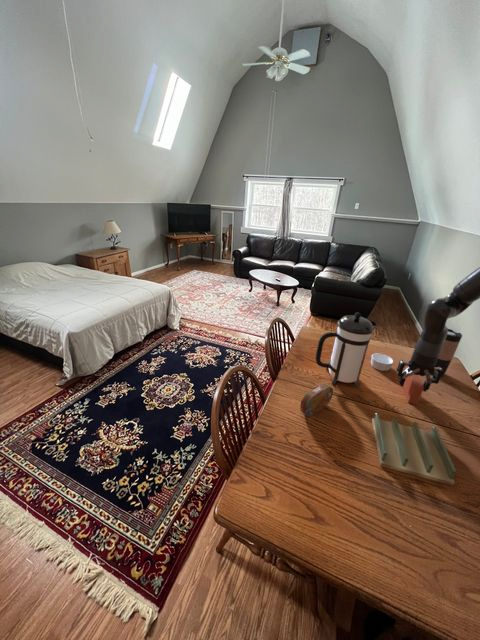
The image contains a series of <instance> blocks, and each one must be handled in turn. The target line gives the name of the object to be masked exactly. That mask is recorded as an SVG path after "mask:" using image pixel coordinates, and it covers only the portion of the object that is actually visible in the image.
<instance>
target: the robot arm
mask: <svg viewBox="0 0 480 640" xmlns="http://www.w3.org/2000/svg"><path fill="white" fill-rule="evenodd" d="M478 300H480V266H479V267H478V268H476V269H475V270H474V271H472V272H471V273H470V274H468V275H467V276H465V277H464V278H463V279H461V280H460V281H459V282H457V284H455V285H454V287H453V288H452V292H450V293H449V294H447V295H446V296H444V297H440V298H435V299H433V300H430V302H429V303H428V304H427V306H426V309H425V311H424V320H423V328H422V330H421V332H420V335H419V338H418V340H417V341H416V344H415V345H414V349H413V352H412V354H411V357H410V360H409V361H404V360H403V359H400V360H399V361H398V365H397V368H396V371H395V372H396V374H397V376H398V377H399V379H398V385H400V387H402V388H403V385H404V383H405V380H406V378H407V377H409V376H412V375H413V374H414V375H418V376H419V377H425V380H424V382H423V383H422V384H423V386H424V389H423V391H422V392H427V391H429V389H430V388H431V385H432V384H435V385H437V384H439V382H440V381H441V378H442V377H441V376H442V374H443V370H442V368H441V367H434V366H435V365H436V362H437V360H438V358H439V355H440V353H441V351H442V347H443V343H444V341H445V339H446V336H447V334H448V329H449V327H447V325H446V324H447V321H448V319H453V318H455V317H457V316H459V315H461V314H462V313H463V312H465V311H466V310H467V309H468V308H469V307H470V306H472V305H473V303H474V302H476V301H478ZM407 366H408V367H407ZM404 369H405V370H404ZM433 371H435V374H434V376H433V375H432V377H431V374H429V373H431V372H433Z"/></svg>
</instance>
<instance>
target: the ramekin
mask: <svg viewBox="0 0 480 640" xmlns="http://www.w3.org/2000/svg"><path fill="white" fill-rule="evenodd" d="M393 363H394V360H393V358H392V357H390V356H389V355H387V354H384V353H379V352H378V353H377V352H376V353H373V354H371V360H370V365H371V367H372V368H373V369H376V370H377V371H381V372H387V371H389V370H390V369H391V367H392V365H393Z"/></svg>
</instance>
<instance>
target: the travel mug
mask: <svg viewBox="0 0 480 640" xmlns="http://www.w3.org/2000/svg"><path fill="white" fill-rule="evenodd" d="M462 337H463V334H462V333H461V332H457V331H454V330H453V329H450V328H448V334H447V336H446V339H445V341H444V343H443V347H442V351H441V353H440V355H439V358H438V360H437V362H436V365H435V366H434V367H441V368H442V370H443V374H442V376H441V378H443V377H444V376H445V374H446V372H447V371H448V368H449V366H450V365H451V362H452V360H453V358H454V356H455V354H456V351H457V349H458V347H459V344H460V342H461V340H462ZM434 374H435V371H433V372H431V373H429V375H430V376H432V377H433V376H434Z"/></svg>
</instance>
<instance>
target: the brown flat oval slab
mask: <svg viewBox="0 0 480 640" xmlns="http://www.w3.org/2000/svg"><path fill="white" fill-rule="evenodd" d="M333 395H334V389H333V387H332V386H329V385H327V384H325V383H323V384H320V385H318V386H317V387H316V388H313V389H311V390H310V391H308V392H307V393H306V394H305V395H304V396H303V397H302V399H301V401H300V406H299V407H300V409H299V410H300V412H301V413H303V414H304V415H305V417H311V416H313V415H315V414H316V413H318V412H319V411H321V410H322V409H324V408H325V407H327V406H328V404H329V403H330V402H331V400H332V397H333Z"/></svg>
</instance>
